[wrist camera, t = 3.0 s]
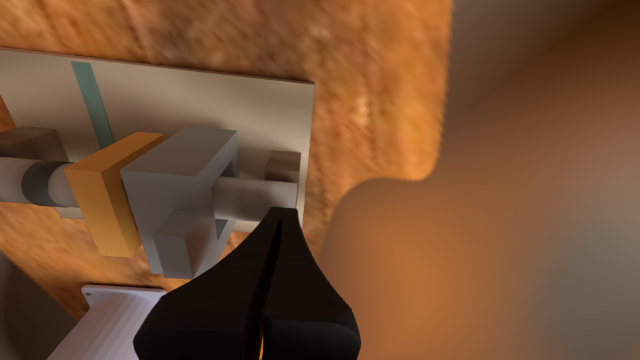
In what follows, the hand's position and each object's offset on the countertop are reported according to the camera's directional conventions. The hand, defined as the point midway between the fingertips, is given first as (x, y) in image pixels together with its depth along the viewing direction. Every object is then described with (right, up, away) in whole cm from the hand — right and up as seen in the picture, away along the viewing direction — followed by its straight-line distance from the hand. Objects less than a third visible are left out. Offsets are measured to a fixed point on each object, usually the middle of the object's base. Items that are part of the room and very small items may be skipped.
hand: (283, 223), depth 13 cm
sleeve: (-5, +3, +4) cm, 7 cm away
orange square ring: (-8, +3, +3) cm, 10 cm away
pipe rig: (-8, +4, +5) cm, 11 cm away
